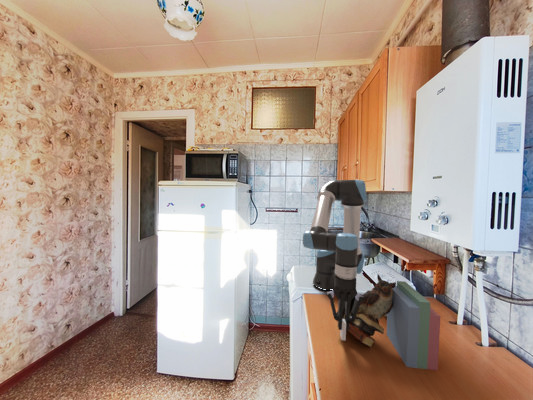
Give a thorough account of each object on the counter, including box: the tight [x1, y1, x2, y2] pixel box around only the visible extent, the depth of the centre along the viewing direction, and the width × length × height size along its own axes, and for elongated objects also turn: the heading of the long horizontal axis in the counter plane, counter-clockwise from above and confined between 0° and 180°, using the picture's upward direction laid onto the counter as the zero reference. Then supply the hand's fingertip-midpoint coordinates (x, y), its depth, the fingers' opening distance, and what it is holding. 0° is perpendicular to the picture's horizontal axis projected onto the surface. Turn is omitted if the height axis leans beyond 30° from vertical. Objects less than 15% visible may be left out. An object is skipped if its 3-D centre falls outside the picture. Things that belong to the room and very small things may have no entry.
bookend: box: [335, 274, 397, 348], centre depth 82 cm, size 15×11×25 cm
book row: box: [386, 280, 441, 371], centre depth 75 cm, size 16×9×22 cm, turn 171°
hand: (342, 337), depth 79 cm, fingers closed
